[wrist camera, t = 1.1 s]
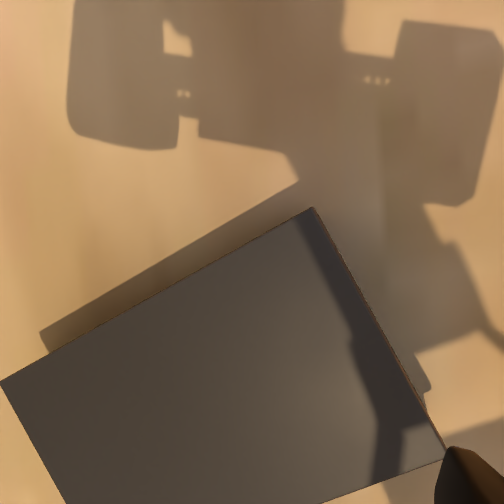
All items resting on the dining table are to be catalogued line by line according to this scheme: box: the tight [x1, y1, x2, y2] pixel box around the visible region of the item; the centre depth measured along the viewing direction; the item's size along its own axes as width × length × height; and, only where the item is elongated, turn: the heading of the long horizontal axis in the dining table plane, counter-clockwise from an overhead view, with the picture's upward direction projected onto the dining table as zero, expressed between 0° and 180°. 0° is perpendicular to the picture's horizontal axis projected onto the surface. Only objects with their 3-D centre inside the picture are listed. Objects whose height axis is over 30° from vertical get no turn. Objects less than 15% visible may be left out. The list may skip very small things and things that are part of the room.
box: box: [0, 207, 447, 504], centre depth 21 cm, size 11×17×3 cm, turn 119°
